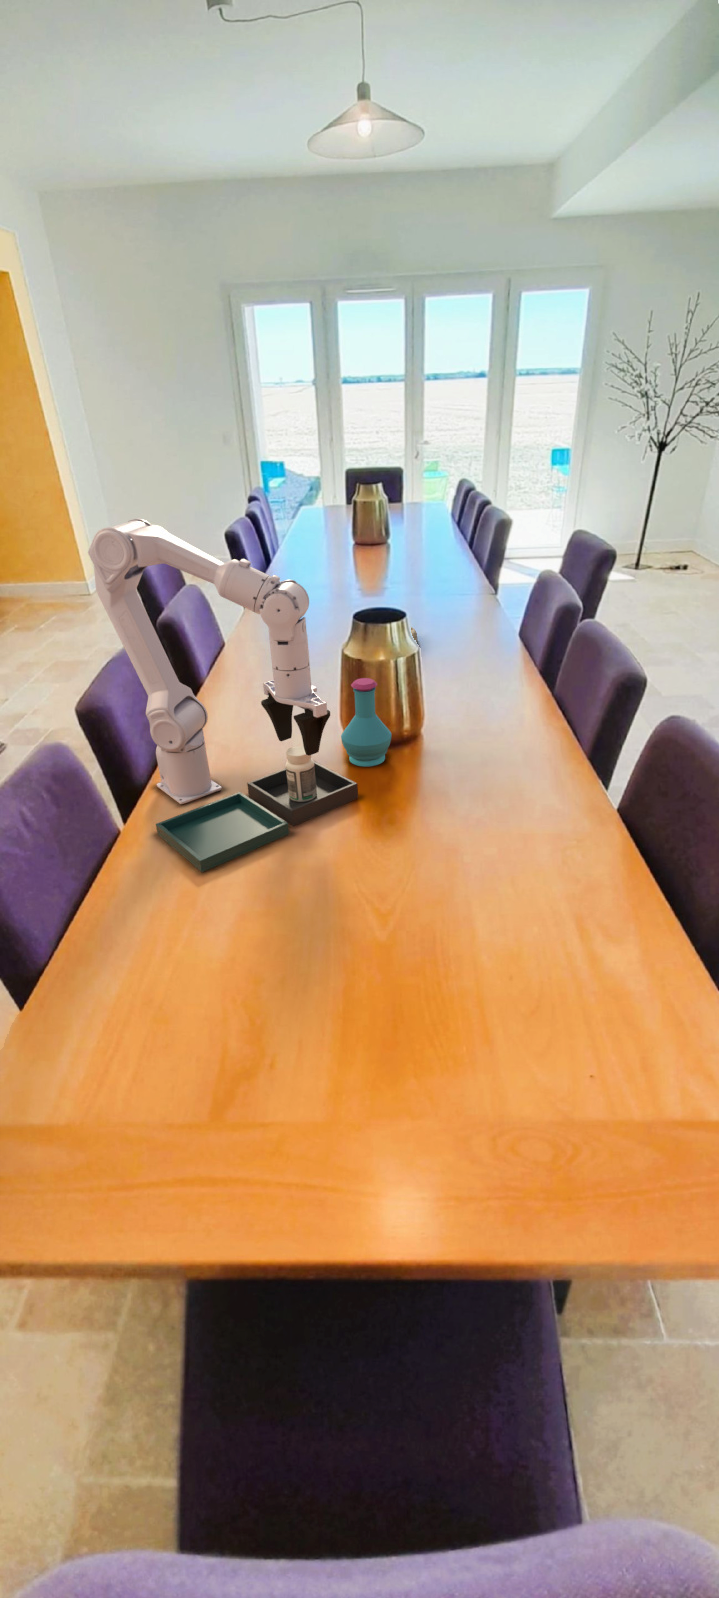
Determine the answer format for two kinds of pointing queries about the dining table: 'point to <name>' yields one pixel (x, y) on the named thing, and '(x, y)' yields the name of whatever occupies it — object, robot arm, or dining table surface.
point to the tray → (221, 830)
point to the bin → (329, 796)
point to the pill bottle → (300, 775)
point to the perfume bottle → (365, 728)
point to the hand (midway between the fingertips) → (298, 746)
